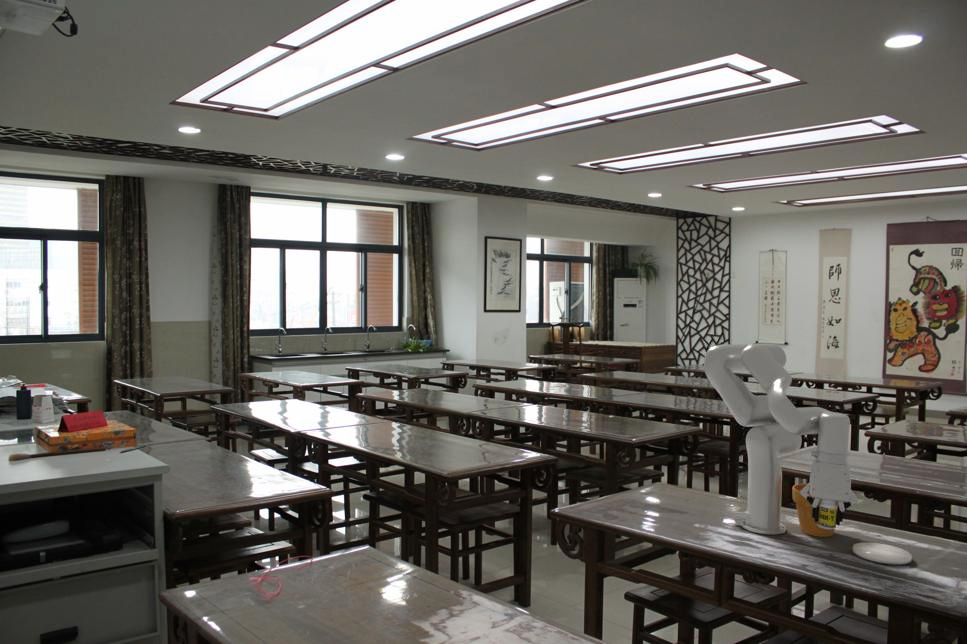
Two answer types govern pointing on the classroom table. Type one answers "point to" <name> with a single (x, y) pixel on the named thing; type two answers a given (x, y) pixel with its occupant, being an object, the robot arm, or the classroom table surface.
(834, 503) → the supplement bottle
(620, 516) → the classroom table surface
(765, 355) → the robot arm
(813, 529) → the flower pot
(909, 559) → the dish
